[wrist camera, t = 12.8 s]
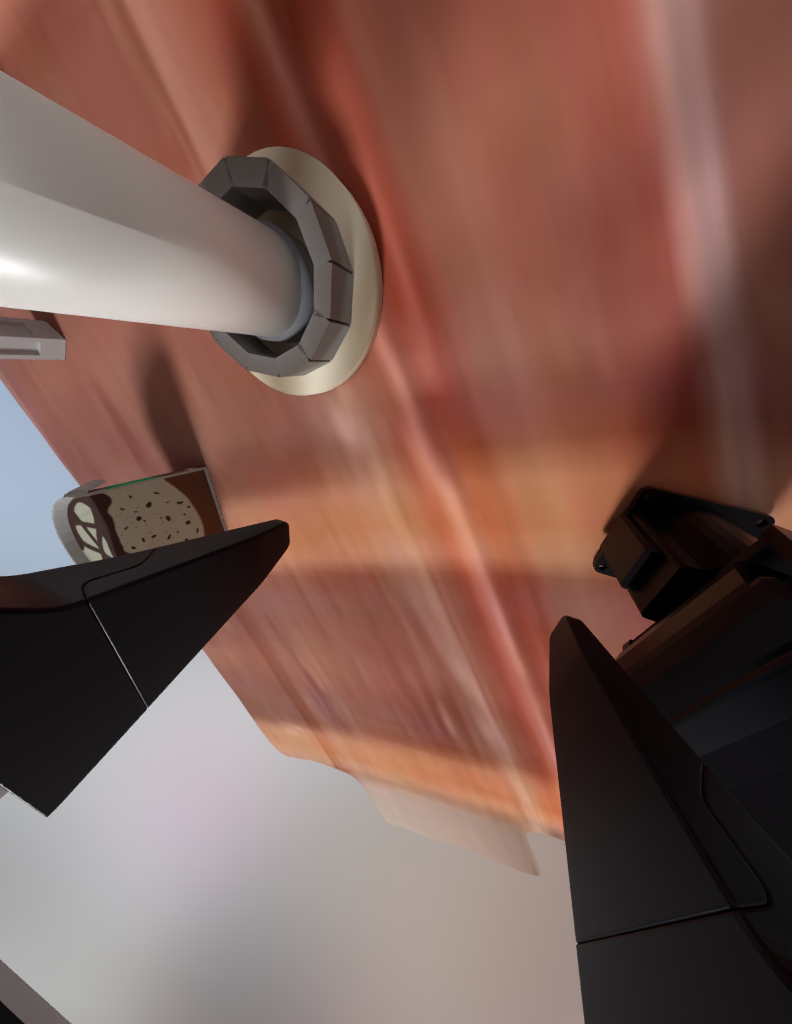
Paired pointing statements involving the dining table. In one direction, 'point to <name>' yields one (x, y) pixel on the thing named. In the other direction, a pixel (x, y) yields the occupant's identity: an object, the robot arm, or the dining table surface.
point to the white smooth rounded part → (133, 234)
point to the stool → (30, 340)
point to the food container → (137, 515)
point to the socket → (337, 267)
